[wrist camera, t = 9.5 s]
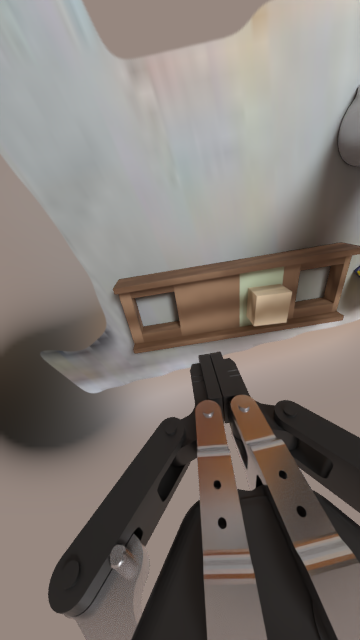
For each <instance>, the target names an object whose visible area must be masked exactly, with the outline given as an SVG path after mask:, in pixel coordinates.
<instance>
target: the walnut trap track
mask: <svg viewBox="0 0 360 640" xmlns="http://www.w3.org/2000/svg"><path fill="white" fill-rule="evenodd" d="M357 254H360V246H357V245H352V244H347V243H342V242H341V243H335V244H329V245H323V246H317V247H311V248H305V249H299V250H293V251H287V252H281V253H275V254H269V255H263V256H257V257H251V258H245V259H239V260H233V261H227V262H221V263H215V264H209V265H203V266H197V267H191V268H185V269H179V270H173V271H167V272H161V273H155V274H148V275H142V276H136V277H130V278H124V279H119V280H118V282H117V283H116V285H115V286H114V288H113V291H114V294H119V297H120V300H121V303H122V306H123V309H124V313H125V316H126V319H127V322H128V325H129V328H130V331H131V334H132V337H133V340H134V343H135V345H134V349H133V350H134V353H142V352H148V351H154V350H160V349H167V348H173V347H179V346H185V345H191V344H198V343H204V342H210V341H216V340H223V339H229V338H235V337H241V336H247V335H254V334H260V333H266V332H272V331H279V330H285V329H291V328H297V327H303V326H310V325H316V324H322V323H328V322H335V321H341V320H343V317H344V316H343V315H342V314H340V313H339V312H337V307H338V304H339V300H340V296H341V293H342V289H343V286H344V282H345V278H346V275H347V271H348V268H349V264H350V260H351V257H352V255H357ZM326 266H331V267H330V271H329V276H328V280H327V284H326V289H325V293H324V297H322V298H316V299H310V300H304V301H298V302H295V300H296V294H297V287H298V281H299V275H300V271H301V270H307V269H313V268H320V267H326ZM275 284H281V285H283V286H284V287H286V288H287V289H289V290H290V291H292V296H291V301H290V306H289V312H288V317H287V322H286V323H277V324H269V325H261V326H253V324H252V323H251V322H250V320H249V319H248V318H247V316H246V313H247V299H248V288H250V287H259V286H267V285H275ZM168 292H175V298H176V303H177V309H178V315H179V321H175V322H168V323H162V324H156V325H150V326H144V327H143V324H142V321H141V317H140V314H139V310H138V307H137V303H136V300H135V298H138V297H144V296H150V295H156V294H162V293H168Z"/></svg>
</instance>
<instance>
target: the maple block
mask: <svg viewBox="0 0 360 640" xmlns="http://www.w3.org/2000/svg"><path fill="white" fill-rule="evenodd" d="M291 296H292V291H290V290H289V289H287V288H286V287H284V286H283V285H281V284H275V285H267V286H259V287H250V288H248V299H247V313H246V316H247V318H248V319H249V320H250V322H251V323H252V324H253V326H261V325H269V324H277V323H286V322H287V317H288V312H289V306H290V301H291Z"/></svg>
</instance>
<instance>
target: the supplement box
mask: <svg viewBox="0 0 360 640" xmlns="http://www.w3.org/2000/svg"><path fill="white" fill-rule="evenodd" d="M354 272H355V273H356V274H357V275H358V276H359V277H360V266H359V267H358V268H357V269H356V270H354Z"/></svg>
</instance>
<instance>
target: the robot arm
mask: <svg viewBox="0 0 360 640" xmlns="http://www.w3.org/2000/svg"><path fill="white" fill-rule="evenodd" d="M338 146H339V152H340V154H341V157H342V158H343V160H344V161H345V162H346V163H348V164H349V165H352V166H360V85H359V87H358V92H357V95H356V98H355V99H354V101H353V102H352V104H351V105H350V107H349V108H348V110H347V112H346V114H345V116H344V118H343V121H342V124H341V126H340V131H339V136H338ZM190 373H191V379H192V386H193V392H194V399H195V408H194V410H193V412H192V413H191V414H190V415H189V416H187V417H185V418H183V419H181V420H180V419H178V418H175V417H170V418H167V419H165V420H164V421H162V423H161V424H160V425H159V427H158V428H157V429H156V430H155V432H154V433H153V435H152V436H151V437H150V439H149V440H148V441H147V443H146V444H145V445H144V447H143V448H142V449H141V451H140V452H139V454H138V455H137V456H136V458H135V459H134V460H133V462H132V463H131V464H130V466H129V467H128V468H127V470H126V471H125V472H124V474H123V475H122V476H121V478H120V479H119V480H118V482H117V483H116V484H115V486H114V487H113V489H112V490H111V491H110V493H109V494H108V495H107V497H106V498H105V499H104V501H103V502H102V503H101V505H100V506H99V507H98V509H97V510H96V511H95V513H94V514H93V516H92V517H91V518H90V520H89V521H88V523H87V524H86V525H85V526H84V528H83V529H82V530H81V532H80V533H79V534H78V536H77V537H76V538H75V540H74V541H73V543H72V544H71V545H70V547H69V548H68V549H67V551H66V552H65V553H64V555H63V556H62V558H61V559H60V561H59V562H58V564H57V565H56V567H55V569H54V572H53V574H52V577H51V580H50V584H49V592H48V598H49V603H50V606H51V608H52V609H53V610H54V611H55V612H57V613H60V614H64V615H65V616H66V617H68V618H71V619H75V620H76V621H77V623H78V625H79V627H80V629H81V631H82V633H83V634H84V637H85V638H86V640H360V526H359V525H358V524H356V523H355V522H354V521H353V520H352V519H350V518H349V517H348V516H347V515H345V514H344V513H343V512H342V511H341V510H339V509H338V508H337V507H336V506H334V505H333V504H332V503H331V502H330V501H328V500H327V499H326V498H324V497H323V496H321V495H320V494H318V493H317V492H315V491H313V490H312V489H311V487H310V486H309V484H308V482H307V481H306V479H305V477H304V475H303V474H302V472H301V470H300V469H299V468H301V469H302V470H303V471H304V472H306V473H307V474H309V475H310V476H311V477H313V478H314V479H315V480H317V481H318V482H319V483H321V484H322V485H323V486H325V487H326V488H327V489H329V490H330V491H331V492H333V493H334V494H335V495H337V496H338V497H339V498H341V499H342V500H343V501H345V502H346V503H347V504H349V505H350V506H352V507H353V508H354V509H355V510H357V511H358V512H359V513H360V438H359V437H357V436H355V435H353V434H351V433H350V432H348V431H346V430H344V429H343V428H340V427H339V426H337V425H335V424H333V423H332V422H330V421H328V420H326V419H324V418H322V417H320V416H319V415H317V414H315V413H313V412H311V411H309V410H307V409H306V408H304V407H302V406H300V405H298V404H296V403H295V402H292V401H288V400H283V401H279V402H278V403H277V404H276V405H275V406H273V405H266V404H261V403H259V402H257V401H255V400H254V399H253V398H251V397H250V395H249V393H248V391H247V388H246V386H245V384H244V382H243V380H242V377H241V375H240V373H239V371H238V368H237V366H236V364H235V362H233V361H232V360H231V359H230V358H228V359H223V357H222V354H221V352H216V353H210V355H209V354H204V355H199V363H197V364H192V366H191V370H190ZM224 421H225V423H230V426H231V430H232V438H233V440H234V443H235V446H236V449H237V451H238V454H239V457H240V459H241V462H242V465H243V467H244V470H245V473H246V477H247V482H248V486H249V489H250V491H245V490H239V489H237V486H236V481H235V475H234V470H233V465H232V460H231V455H230V451H229V449H228V444H227V439H226V434H225V428H224ZM195 458H197V462H198V479H199V495H200V500H199V501H197V502H196V503H195V504H194V505H193V506H192V507H191V508H190V509H189V511H188V512H187V514H186V516H185V517H184V519H183V521H182V523H181V525H180V528H179V530H178V532H177V535H176V537H175V539H174V542H173V544H172V547H171V548H170V551H169V553H168V555H167V558H166V560H165V563H164V565H163V567H162V569H161V572H160V574H159V576H158V579H157V581H156V583H155V585H154V588H153V590H152V593H151V595H150V597H149V599H148V602H147V604H146V607H145V609H144V611H143V613H142V612H141V598H142V593H143V589H144V586H145V583H146V580H147V578H148V574H149V567H150V561H149V555H148V551H147V549H146V547H145V546H146V544H147V542H148V540H149V539H150V537H151V535H152V533H153V531H154V529H155V527H156V526H157V524H158V522H159V520H160V518H161V516H162V514H163V513H164V511H165V509H166V507H167V505H168V503H169V501H170V499H171V498H172V496H173V494H174V492H175V490H176V488H177V487H178V485H179V483H180V481H181V479H182V477H183V475H184V474H185V472H186V470H187V468H188V466H189V464H190V462H191V461H192V460H194V459H195Z"/></svg>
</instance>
